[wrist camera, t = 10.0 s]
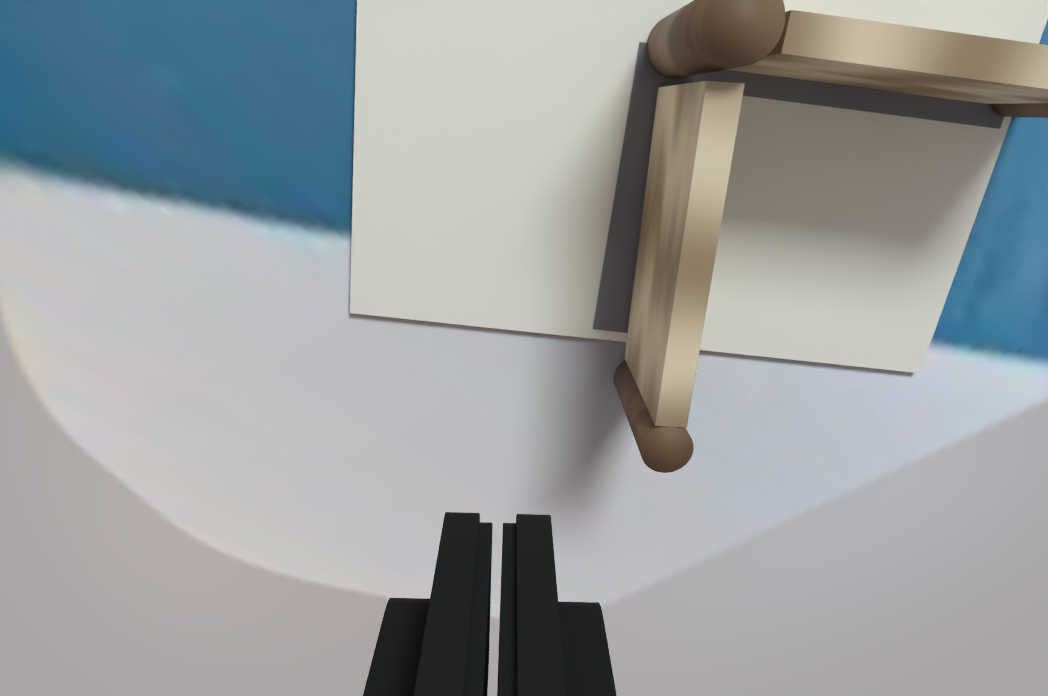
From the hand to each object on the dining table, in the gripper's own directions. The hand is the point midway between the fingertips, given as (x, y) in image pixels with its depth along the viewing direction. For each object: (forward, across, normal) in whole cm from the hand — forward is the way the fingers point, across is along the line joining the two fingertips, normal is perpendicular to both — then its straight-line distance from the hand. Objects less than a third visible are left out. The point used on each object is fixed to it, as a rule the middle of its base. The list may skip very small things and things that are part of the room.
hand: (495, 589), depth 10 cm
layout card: (+21, -7, -6) cm, 23 cm away
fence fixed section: (+21, -14, -9) cm, 27 cm away
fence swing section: (+20, -6, -1) cm, 21 cm away
